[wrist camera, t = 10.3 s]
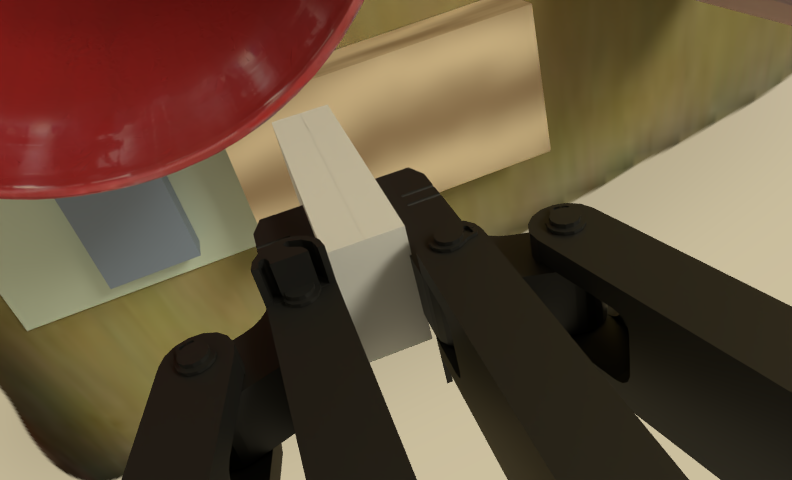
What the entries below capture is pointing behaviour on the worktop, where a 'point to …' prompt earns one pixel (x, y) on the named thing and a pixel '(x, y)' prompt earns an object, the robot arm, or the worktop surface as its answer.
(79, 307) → the rubber mat
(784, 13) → the greeting card
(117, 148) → the mixing bowl
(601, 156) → the worktop surface
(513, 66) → the tan block
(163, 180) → the blue-grey flat block
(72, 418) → the worktop surface
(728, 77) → the worktop surface
